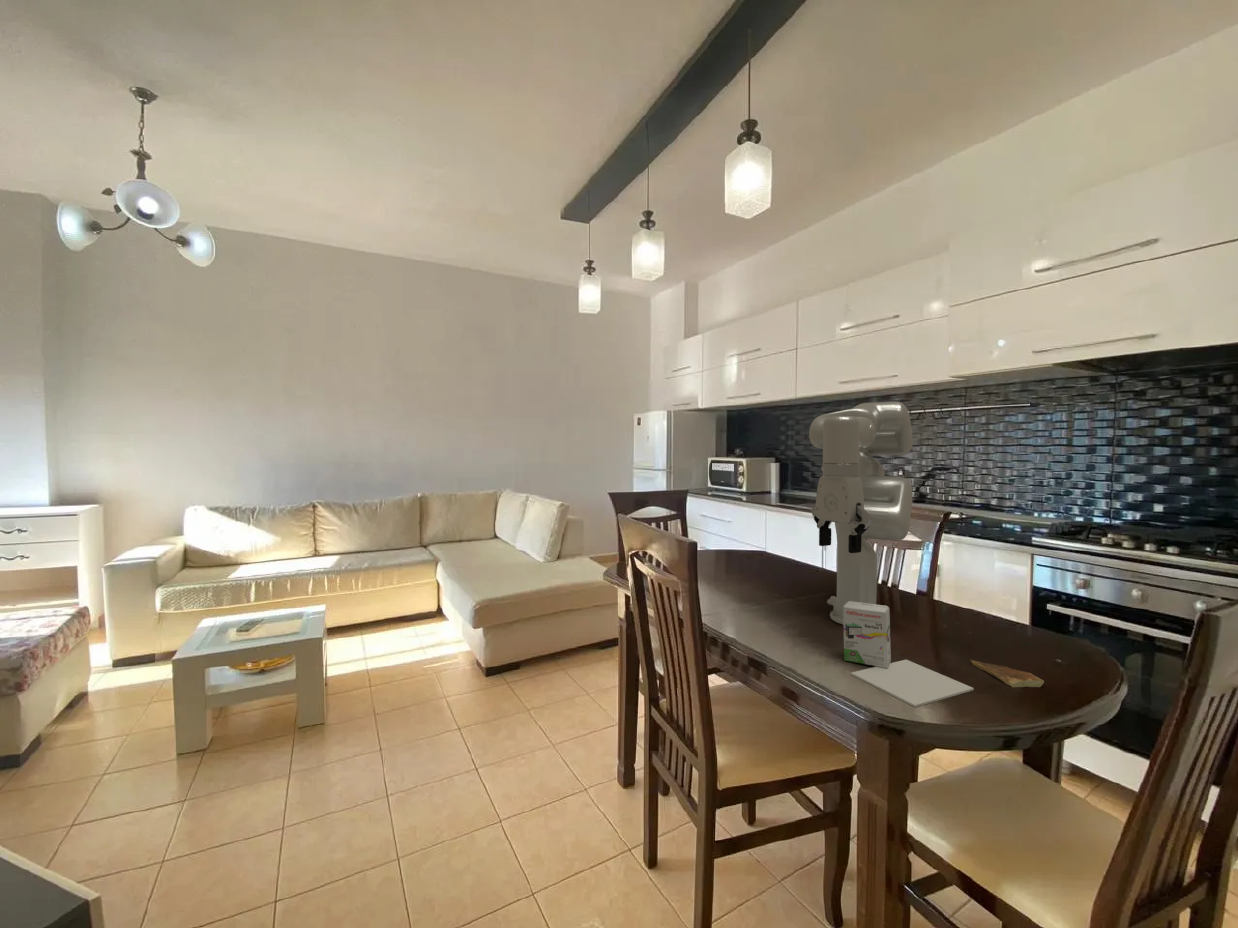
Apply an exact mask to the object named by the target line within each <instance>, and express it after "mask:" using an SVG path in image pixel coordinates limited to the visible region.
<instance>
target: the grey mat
mask: <svg viewBox="0 0 1238 928" xmlns="http://www.w3.org/2000/svg"><path fill="white" fill-rule="evenodd" d="M850 676H852V677H854V678H856V679H859V680H860V681H862V682H864V683H866V684H868V685H870V686H872V687H874V688H877V689H878V690H880V691H882V692H883V693H886V694H888V695H890V696H892V697H894V698H896V699H898V700H900V701H901V702H903V703H905V704H908V705H910V706H912V707H914V708H918V707H921V706H924V705H929V704H932V703H935V702H938V701H941V700H945V699H948V698H952V697H956V696H959V695H963V694H966V693H970V692H972V691H974V690H975V689H974V687H972V686H970V685H967V684H965V683H963V682H960V681H959V680H956V679H953V678H950V677H948V676H947V675H944V674H943V673H942V674H941V673H939V672H936V671H934V670H932V669H929V668H928V667H925V666H922V665H920V664H917V663H915V662H913V661H911V660H909V659H903V660H899V661H894V662H890V664H889V666H888V668H883V667H878V666H872V667H868V668H864V669H860V670H856V671H853V672H850Z"/></svg>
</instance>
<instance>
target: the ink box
mask: <svg viewBox="0 0 1238 928" xmlns="http://www.w3.org/2000/svg"><path fill="white" fill-rule="evenodd" d="M890 615H891V614H890V607H889V606H887V605H881V604H877V603H876V604H869V603H861V602H853V601H848V602H847V603H846V604H845V605H844V606H843V624H842V625H843V626H842V627H843V655H844V659H843V661H847V662H853V663H857V664H862V665H867V666H872V667H877V666H878V667H883V668H888V666H889V664H890V663H892V662H891V661H892V655H891V654H892V652H891V617H890Z"/></svg>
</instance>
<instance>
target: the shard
mask: <svg viewBox="0 0 1238 928" xmlns="http://www.w3.org/2000/svg"><path fill="white" fill-rule="evenodd" d="M969 660H970V662H971V664H972V665H973V666H975V667H976V668H978V669H980V670H982V671H983V672H985V673H988V674H990V675H991V676H993V677H995V678H996V679H997V680H999V681H1001V682H1003V683H1004V684H1006V685H1007V686H1010V687H1011V688H1027V687H1028V688H1041V687H1042V686H1043V684H1044V683H1045V681H1044V680H1043V679H1041V678H1040V677H1038V676H1036V675H1034V674H1032V672H1028V671H1025V670H1021V669H1018V668H1017V669H1016V668H1014V667H1009V666H1004V665H1000V664H996V663H991V662H987V661H981V660H978V659H977V660H976V659H973V658H970V659H969Z"/></svg>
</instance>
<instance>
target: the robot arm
mask: <svg viewBox="0 0 1238 928" xmlns="http://www.w3.org/2000/svg"><path fill="white" fill-rule="evenodd" d="M808 433H809V434H808V436H809V440H810V443H811V445H812V446H813V447H815V448H816V449H822V466H821V467H820V470H821V471H822V476H820V477H819V479H818V484H817V489H816V499H815V505H814V506H813V507H812V508H810V513H811V515H812V517H813V520H814V521H815V523H816V527H817V529H818V545H819V546H820V547H827V546H832V528H831V527H830V526H831V525H832V523H834V528H835V533H836V546H837V548H836V552H837V553H836V555H837V557H836V559H837V560H836V596H834V595H831V596H830V598H828V599H827V601H826V603H827V604H828V605H830V606H833V609H832V610H831V611H830V613H829V616H830V620H832V621H833V622H835V623H837V624H840V625H843V606H844V605H845V604H846V603H847V602H848V601H853V602H861V603H869V604H876V605H877V593H878V592H877V586H878V585H877V584H878V580H877V579H878V555H877V553H876V551H875V549H874V547H873V546H872V545H871V544H870V542H869V541H868V540H872V539H873V540H881V541H882V540H883V541H895V542H896V541H897V542H898V541H902V540H905V538H906V537H907V536H908V534H909V529H910V526H911V525H910V524H911V516H912V508H913V507H912V506H913V497H914V496H913V495H914V494H913V487H912V484H911V483H910V481H909V480H908V479H906V478H905V477H902V476H891V475H890V476H889V475H887V476H886V473H885V469H884V467H883V466H882V464H881V463H880V462H879V461H878V460H877V459H875V458H874V457H873V456H904V455H907V454H909V453H910V452H911V450H912V448H913V445H914V444H913V443H914V436H913V429H912V422H911V417H910V413H909V409H908V408H907V407H906V405H905V404H904V403H903V402H901V401H882V402H881V401H880V402H879V401H878V402H873V401H872V402H863V403H858V404H857V405H856V406H854V407H853V408H848V409H843V410H840V411H834V412H829V413H824V414H821V415H819V416H817V417H816V418H814V419H813V421H812V422H811V424H810V427H809V429H808Z"/></svg>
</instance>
